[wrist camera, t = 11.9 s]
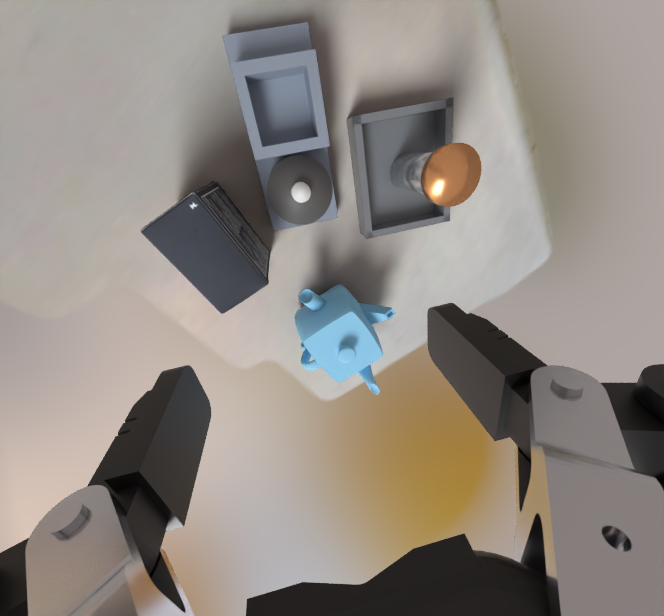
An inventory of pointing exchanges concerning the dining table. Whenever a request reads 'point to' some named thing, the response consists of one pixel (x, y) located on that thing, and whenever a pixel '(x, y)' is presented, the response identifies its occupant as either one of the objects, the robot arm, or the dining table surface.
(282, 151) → the block
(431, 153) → the copper capped glass jar
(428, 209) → the tray
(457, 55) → the dining table surface
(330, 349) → the teapot
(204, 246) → the small box
